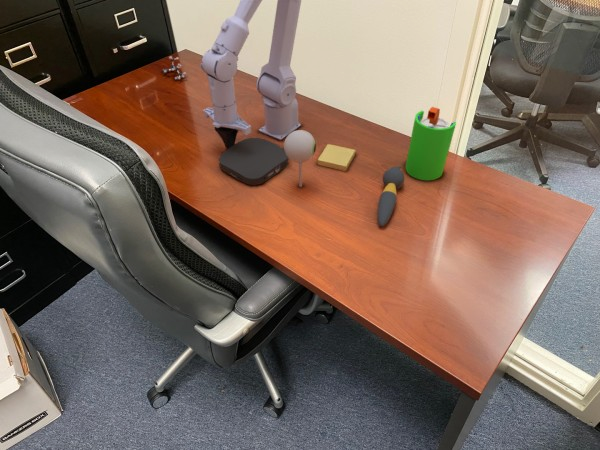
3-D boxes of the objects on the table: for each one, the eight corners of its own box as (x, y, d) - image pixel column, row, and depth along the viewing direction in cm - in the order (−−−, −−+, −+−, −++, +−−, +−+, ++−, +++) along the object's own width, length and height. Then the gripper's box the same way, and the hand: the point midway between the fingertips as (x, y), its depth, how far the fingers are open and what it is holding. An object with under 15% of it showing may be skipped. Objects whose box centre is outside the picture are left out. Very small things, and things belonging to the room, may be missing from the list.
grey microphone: (398, 232, 94) (401, 215, 91) (374, 229, 95) (377, 212, 92) (403, 176, 108) (406, 159, 105) (383, 173, 109) (385, 157, 106)
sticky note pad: (327, 148, 117) (327, 143, 116) (355, 154, 115) (355, 149, 114) (317, 164, 112) (317, 159, 111) (345, 171, 110) (346, 166, 109)
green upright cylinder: (445, 166, 111) (462, 101, 98) (438, 184, 106) (455, 118, 93) (409, 157, 114) (422, 93, 101) (401, 175, 109) (413, 109, 96)
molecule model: (180, 73, 154) (164, 52, 149) (194, 72, 145) (178, 50, 140) (167, 84, 152) (151, 64, 148) (180, 84, 143) (164, 62, 139)
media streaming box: (253, 141, 120) (252, 132, 118) (294, 161, 113) (294, 152, 111) (213, 167, 112) (211, 157, 110) (255, 190, 105) (254, 180, 103)
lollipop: (312, 197, 103) (312, 143, 92) (282, 193, 104) (280, 140, 94) (317, 178, 108) (318, 125, 97) (289, 175, 109) (287, 122, 98)
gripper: (190, 99, 106) (200, 146, 116) (234, 118, 100) (240, 166, 110) (211, 87, 110) (219, 134, 120) (255, 105, 104) (259, 152, 114)
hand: (230, 148), depth 115 cm, fingers closed
